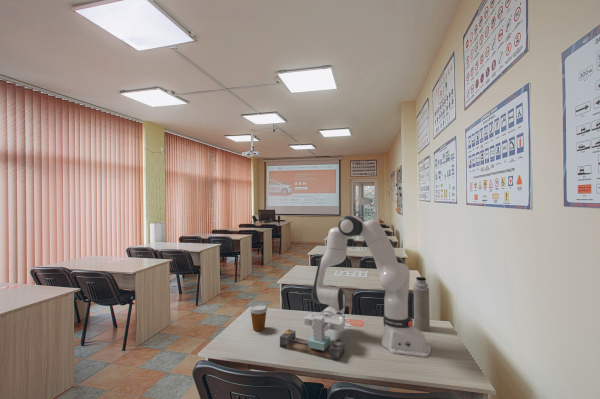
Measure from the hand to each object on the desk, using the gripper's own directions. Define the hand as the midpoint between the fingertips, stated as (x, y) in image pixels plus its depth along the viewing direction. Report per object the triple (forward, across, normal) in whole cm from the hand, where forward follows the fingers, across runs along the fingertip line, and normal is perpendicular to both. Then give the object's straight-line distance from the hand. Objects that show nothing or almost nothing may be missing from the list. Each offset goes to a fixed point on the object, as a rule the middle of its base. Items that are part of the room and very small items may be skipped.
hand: (318, 328), depth 136 cm
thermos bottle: (-48, +42, +11) cm, 65 cm away
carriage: (-1, 0, +8) cm, 8 cm away
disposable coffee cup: (-9, -40, +11) cm, 42 cm away
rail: (-1, -4, +11) cm, 12 cm away
